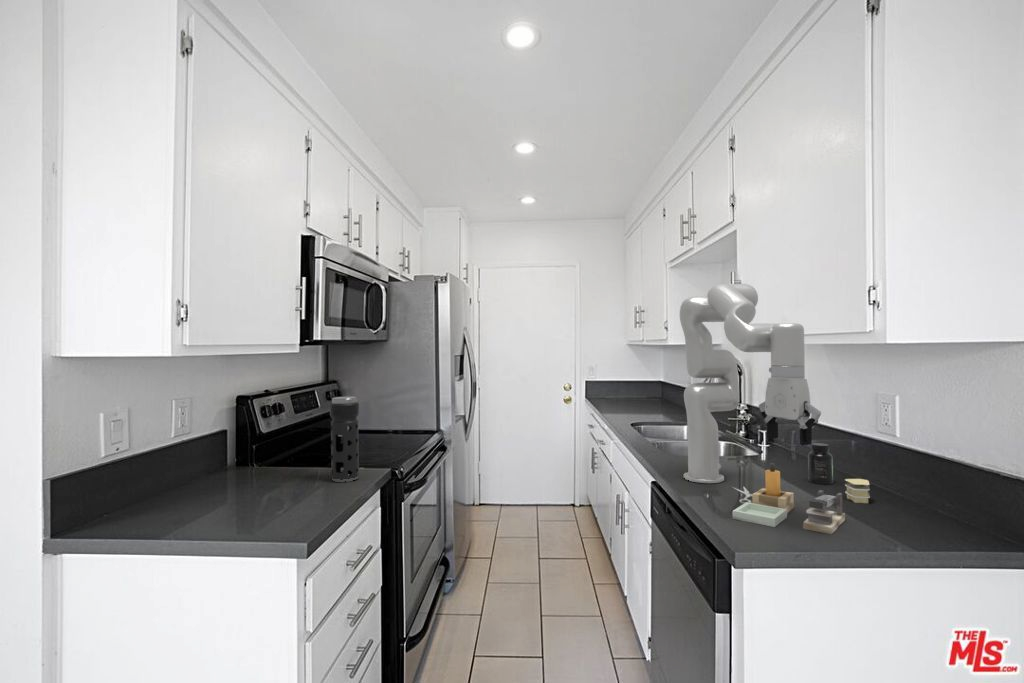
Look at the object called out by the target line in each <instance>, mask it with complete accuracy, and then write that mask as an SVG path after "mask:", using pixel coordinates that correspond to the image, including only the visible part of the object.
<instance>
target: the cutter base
mask: <svg viewBox="0 0 1024 683" xmlns="http://www.w3.org/2000/svg"><path fill="white" fill-rule="evenodd" d="M816 494H817V496H816V498H817V497H819V496H822V495H824V490H821V489H820V490H818V491H817V493H816ZM835 496H836V503H835V504H836V511H833V510H826V509H817V508H811V507H809V508H807V509H806V512H805V514H808V518H806V519H805V520H804V521H803V522H802V529H803V530H807V531H812V532H813V531H814V532H817V533H823V534H828V535H833V533H835V532H836V530H837V529H838V528H839V527H840V526H841V524H843V523H844V522H845V521H846V513H844V512H843V510H844V509H843V492H842V493H841V492H838V493H837V494H836V495H835Z"/></svg>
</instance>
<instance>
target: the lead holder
mask: <svg viewBox="0 0 1024 683" xmlns="http://www.w3.org/2000/svg"><path fill="white" fill-rule="evenodd" d="M751 494H752V498H751V499H752V500H751V501H752V503H754V504H760V505H766V506H771V507H777V508H783V509H787V514H789V512H790V511H792V510H793V509H794V508H795V503H794V502H795V500H794V499H795V496H794V494H795V493H794V492H791V491H790V492H789V491H784V490H780V494H781V497H777V496H770V495H766V487H765V488H764V487H762V488H760V489H758V490H757V491H755V492H754V493H751Z"/></svg>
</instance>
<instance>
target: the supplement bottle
mask: <svg viewBox="0 0 1024 683" xmlns="http://www.w3.org/2000/svg"><path fill="white" fill-rule="evenodd" d="M810 446H811V448H810V449H811V451H809V453H808V454H807V465H808V466H807V467H808V468H807V470H808V471H807V472H808V473H807V474H808V482H809V483H812V484H815V485H823V486H825V485H827V486H828V485H829V486H830V485H832V484H833V483H834V464H833V462H834V461H833V460H834V459H833V455H832V454H831V453H830V452H829V451H830V446H829V444H826V443H823V442H822V443H821V442H820V443H819V442H815V443H811V444H810Z"/></svg>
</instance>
